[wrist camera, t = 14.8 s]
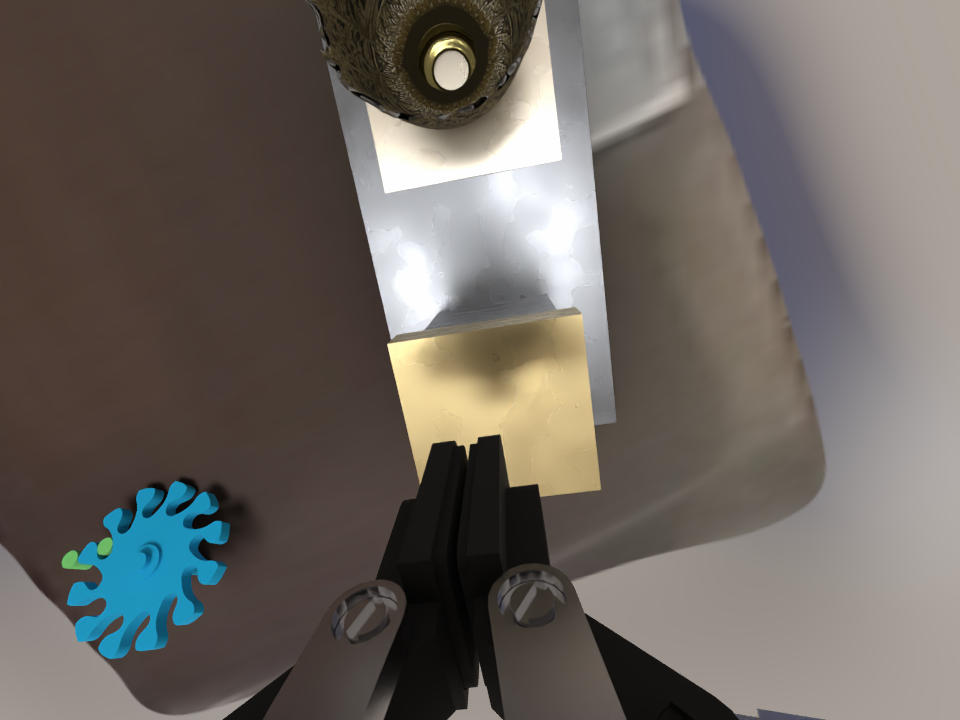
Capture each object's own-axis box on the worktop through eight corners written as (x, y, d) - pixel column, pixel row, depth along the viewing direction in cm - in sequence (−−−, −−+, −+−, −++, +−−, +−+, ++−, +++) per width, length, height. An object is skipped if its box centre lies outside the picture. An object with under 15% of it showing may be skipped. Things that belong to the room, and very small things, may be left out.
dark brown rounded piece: (356, -3, 20) (265, -143, 13) (516, -43, 19) (522, -219, 12) (394, 170, 22) (335, 140, 15) (540, 139, 21) (558, 91, 14)
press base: (310, -50, 21) (199, -206, 14) (560, -114, 20) (593, -325, 12) (420, 436, 28) (388, 514, 21) (610, 412, 27) (651, 484, 19)
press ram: (426, 306, 24) (387, 343, 16) (557, 285, 23) (582, 314, 15) (450, 425, 26) (426, 509, 18) (572, 409, 25) (601, 489, 17)
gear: (241, 487, 28) (169, 675, 24) (289, 505, 33) (238, 662, 29) (100, 470, 30) (9, 640, 26) (165, 489, 36) (100, 634, 31)
